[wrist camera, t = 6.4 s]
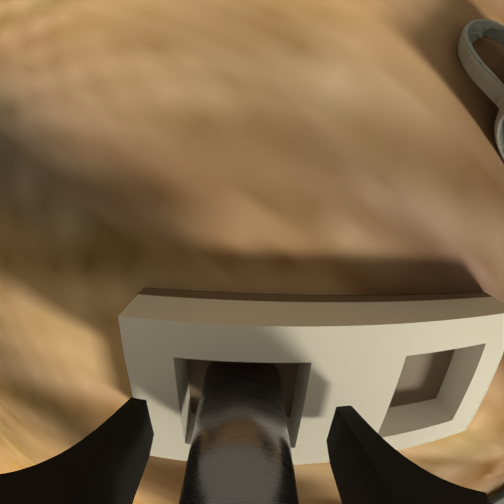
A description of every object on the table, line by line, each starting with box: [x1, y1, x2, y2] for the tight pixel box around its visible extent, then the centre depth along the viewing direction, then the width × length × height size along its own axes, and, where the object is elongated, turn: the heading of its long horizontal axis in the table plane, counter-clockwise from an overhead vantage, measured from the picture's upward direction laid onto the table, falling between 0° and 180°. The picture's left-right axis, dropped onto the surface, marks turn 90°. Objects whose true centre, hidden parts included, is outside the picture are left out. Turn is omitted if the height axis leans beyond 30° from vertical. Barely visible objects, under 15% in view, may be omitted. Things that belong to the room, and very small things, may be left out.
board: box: [118, 288, 504, 465], centre depth 12 cm, size 8×18×3 cm, turn 88°
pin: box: [179, 361, 299, 504], centre depth 9 cm, size 4×4×8 cm
